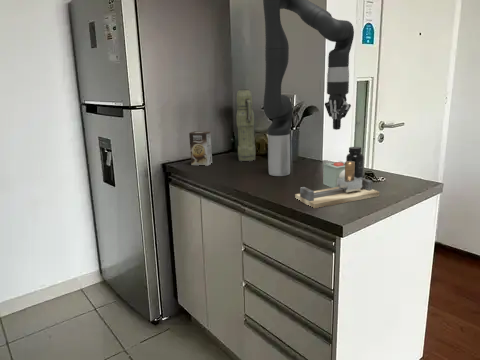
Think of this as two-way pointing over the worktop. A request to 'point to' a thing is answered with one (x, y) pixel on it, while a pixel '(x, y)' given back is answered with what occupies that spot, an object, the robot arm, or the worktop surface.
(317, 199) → the rail track
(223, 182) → the worktop surface
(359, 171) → the supplement bottle
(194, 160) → the coffee box
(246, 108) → the thermos
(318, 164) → the worktop surface
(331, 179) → the button box
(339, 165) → the button
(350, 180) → the carriage
